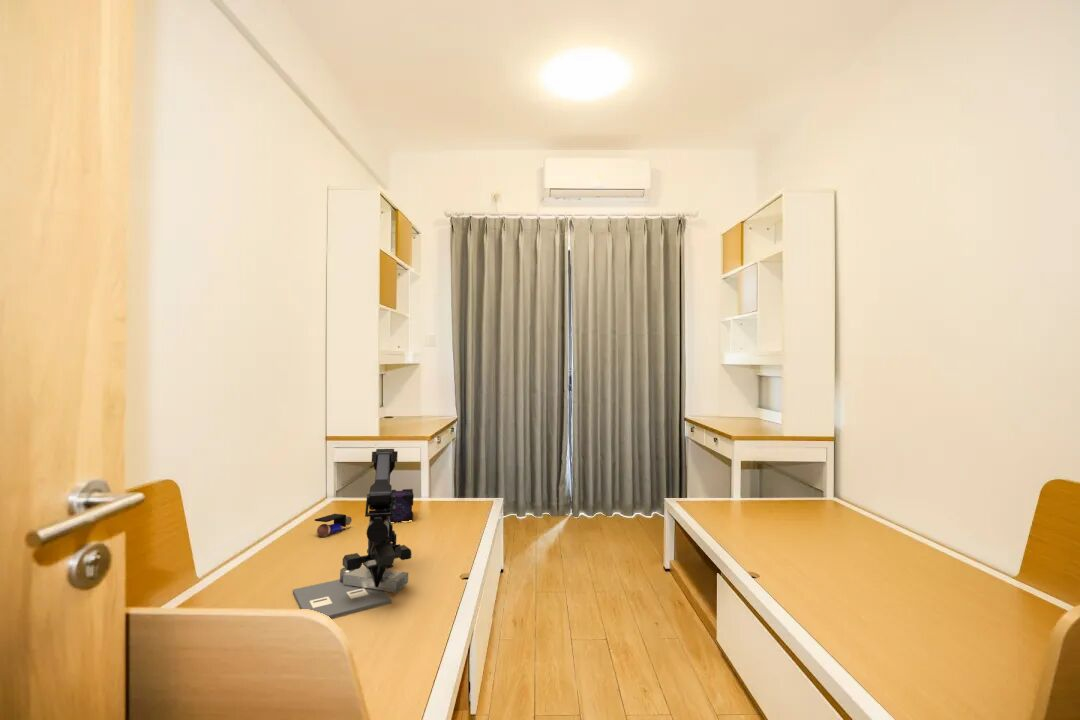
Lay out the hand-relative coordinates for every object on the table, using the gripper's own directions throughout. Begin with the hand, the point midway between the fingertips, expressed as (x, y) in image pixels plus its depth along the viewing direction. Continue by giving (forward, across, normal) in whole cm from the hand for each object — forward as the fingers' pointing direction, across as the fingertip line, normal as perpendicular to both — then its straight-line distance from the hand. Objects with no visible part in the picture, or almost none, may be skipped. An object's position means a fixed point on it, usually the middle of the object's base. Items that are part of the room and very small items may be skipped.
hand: (376, 586), depth 141 cm
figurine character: (+1, +3, +67) cm, 67 cm away
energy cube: (0, +32, +71) cm, 78 cm away
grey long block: (+1, +1, +7) cm, 7 cm away
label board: (+3, -9, +5) cm, 10 cm away
